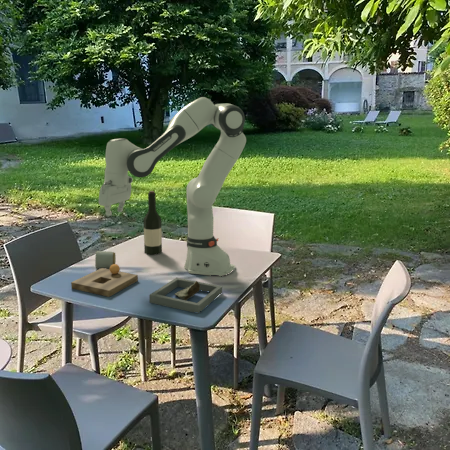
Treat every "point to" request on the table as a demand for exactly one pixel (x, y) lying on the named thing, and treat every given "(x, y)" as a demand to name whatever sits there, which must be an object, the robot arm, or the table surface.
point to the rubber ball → (114, 269)
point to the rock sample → (188, 291)
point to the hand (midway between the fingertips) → (114, 213)
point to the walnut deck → (111, 282)
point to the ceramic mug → (104, 259)
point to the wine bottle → (152, 228)
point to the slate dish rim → (161, 299)
